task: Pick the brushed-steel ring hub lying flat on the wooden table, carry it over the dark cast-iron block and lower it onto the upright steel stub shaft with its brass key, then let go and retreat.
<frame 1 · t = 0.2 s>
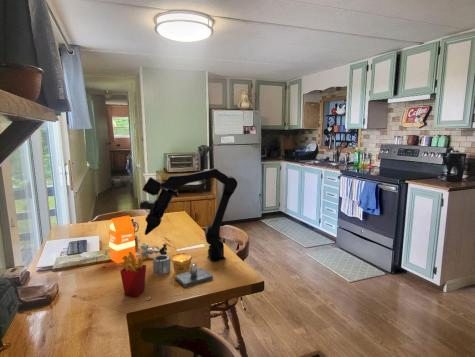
hand: (147, 231, 135), 15 cm above the table, tool tilted 30°, fingers open, 9 cm apart
orange juice: (123, 258, 141), on the table
french fries: (131, 295, 108), on the table
hub: (162, 271, 127), on the table
valve: (153, 258, 142), on the table
shaft block: (194, 278, 120), on the table
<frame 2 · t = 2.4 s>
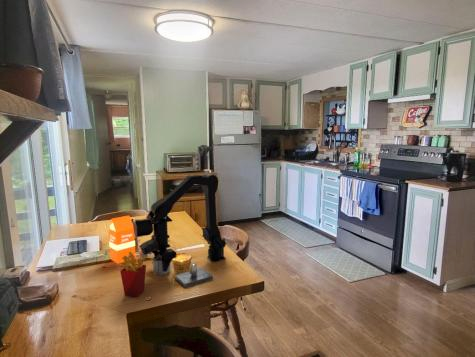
hand: (162, 268, 127), 1 cm above the table, tool pointing down, fingers closed on hub, 7 cm apart
hub: (162, 271, 127), on the table, touching gripper
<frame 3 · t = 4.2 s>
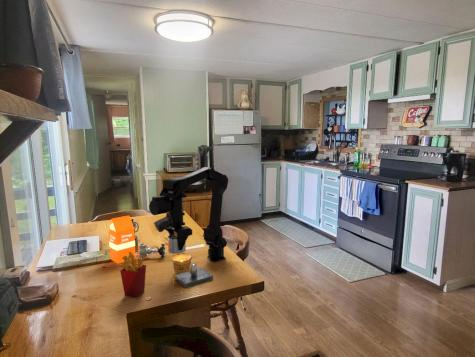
hand: (177, 247, 122), 12 cm above the table, tool pointing down, fingers closed on hub, 7 cm apart
hub: (177, 250, 122), point 10 cm above the table, touching gripper
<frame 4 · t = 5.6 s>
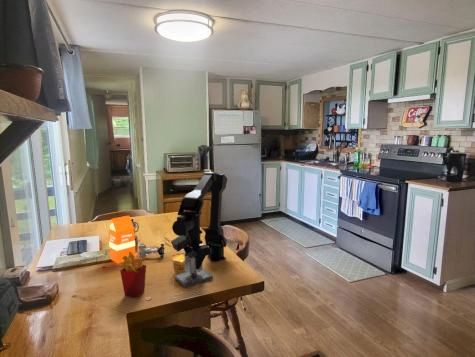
hand: (193, 266, 120), 5 cm above the table, tool pointing down, fingers closed on hub, 7 cm apart
hub: (193, 269, 120), point 4 cm above the table, touching gripper
when the fingers open (3 cm above the table, at t = 6.5 s): hub stays where it is, resting on shaft block.
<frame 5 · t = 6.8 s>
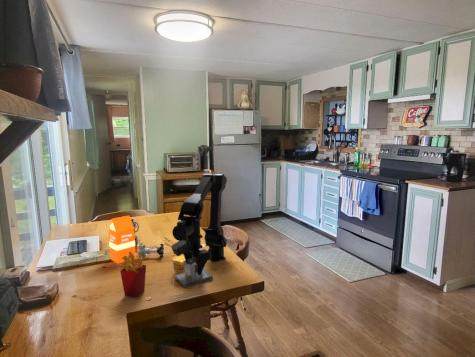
hand: (193, 270, 120), 3 cm above the table, tool pointing down, fingers open, 9 cm apart
hub: (193, 275, 120), point 1 cm above the table, touching shaft block
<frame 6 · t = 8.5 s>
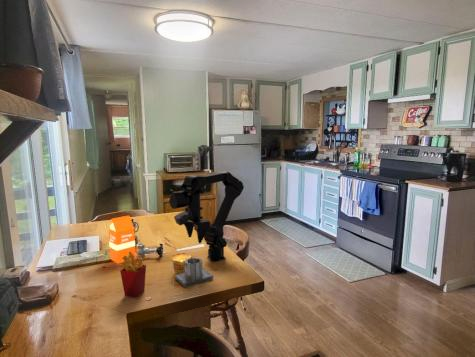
hand: (194, 240, 131), 12 cm above the table, tool pointing down, fingers open, 9 cm apart
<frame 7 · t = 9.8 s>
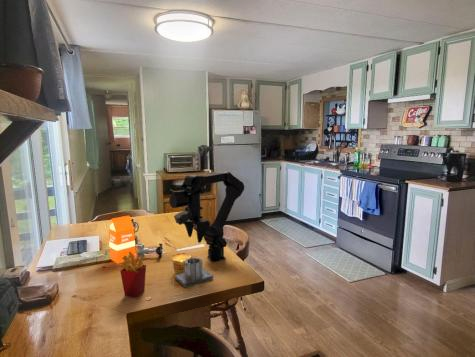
hand: (194, 239, 131), 12 cm above the table, tool pointing down, fingers open, 9 cm apart
at the end: hub 0.0 cm off-centre on the shaft block, point 1.5 cm above the shaft block's base; hub tilted 0°; the gripper is holding nothing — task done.
